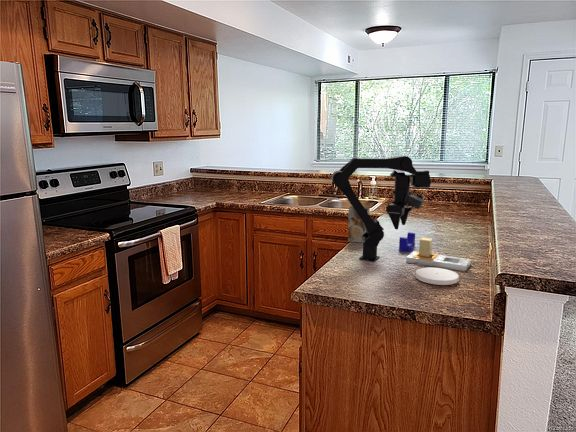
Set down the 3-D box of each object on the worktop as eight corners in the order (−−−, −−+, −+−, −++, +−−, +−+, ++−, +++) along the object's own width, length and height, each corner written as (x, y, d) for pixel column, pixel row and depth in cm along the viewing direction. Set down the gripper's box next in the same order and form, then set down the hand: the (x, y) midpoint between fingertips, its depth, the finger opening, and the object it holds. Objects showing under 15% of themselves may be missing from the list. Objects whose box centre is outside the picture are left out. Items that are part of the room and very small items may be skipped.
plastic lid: (466, 286, 144) (467, 278, 143) (428, 289, 141) (429, 281, 140) (443, 272, 157) (443, 266, 157) (408, 275, 154) (408, 268, 154)
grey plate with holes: (465, 271, 158) (466, 265, 158) (406, 261, 169) (406, 256, 169) (470, 264, 166) (470, 258, 166) (413, 255, 178) (413, 250, 177)
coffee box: (369, 240, 204) (370, 206, 201) (367, 243, 198) (368, 208, 195) (350, 238, 207) (351, 205, 204) (347, 241, 201) (348, 207, 198)
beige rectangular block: (428, 263, 168) (430, 240, 166) (418, 261, 170) (419, 239, 168) (431, 260, 171) (432, 238, 169) (421, 259, 173) (422, 237, 171)
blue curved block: (409, 252, 183) (410, 238, 182) (398, 251, 186) (399, 237, 184) (417, 246, 193) (418, 233, 192) (408, 245, 195) (408, 232, 194)
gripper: (415, 192, 157) (413, 234, 160) (429, 186, 172) (426, 225, 175) (386, 190, 162) (384, 230, 165) (401, 185, 178) (399, 222, 181)
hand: (400, 227), depth 171 cm, fingers open, 9 cm apart
